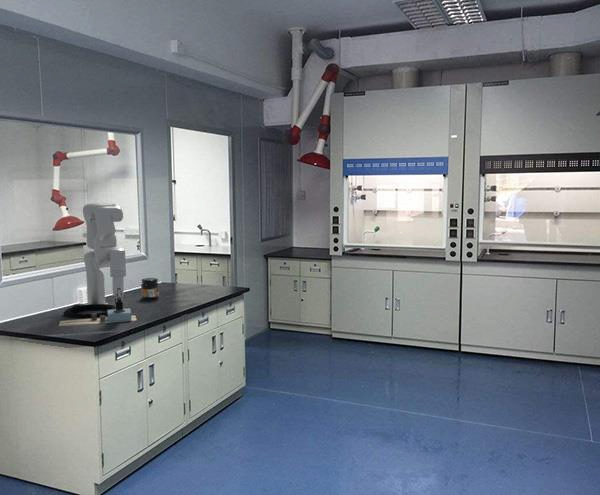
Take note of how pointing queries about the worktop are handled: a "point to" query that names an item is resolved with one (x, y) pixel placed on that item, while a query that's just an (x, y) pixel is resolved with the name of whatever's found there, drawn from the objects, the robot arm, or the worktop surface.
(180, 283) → the worktop surface
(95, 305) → the cable lock
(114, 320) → the end holder
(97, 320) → the board
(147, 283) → the supplement container
